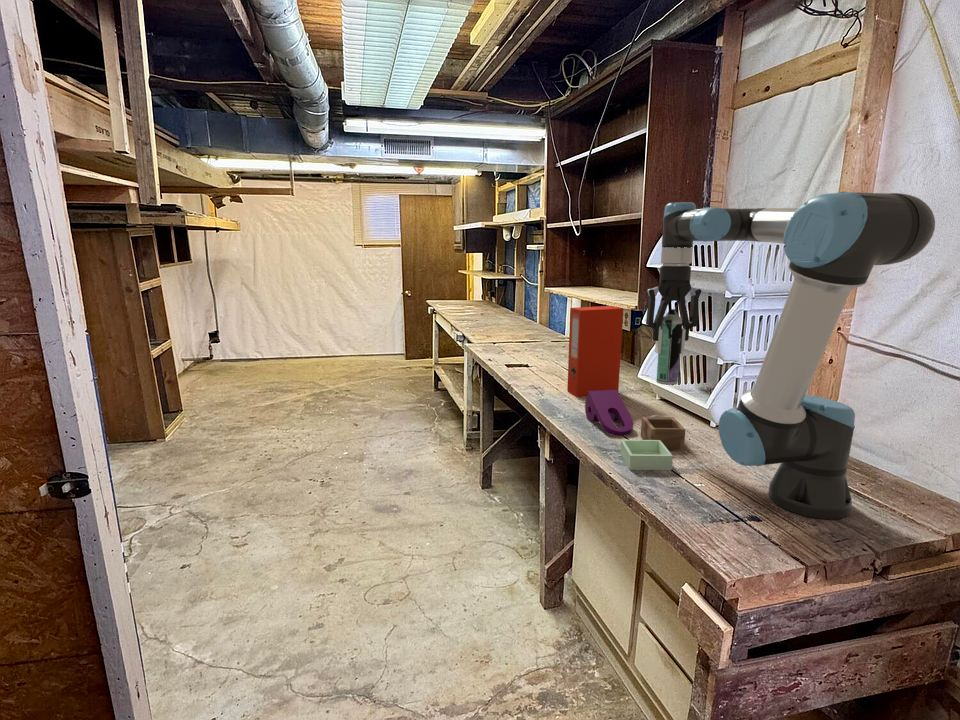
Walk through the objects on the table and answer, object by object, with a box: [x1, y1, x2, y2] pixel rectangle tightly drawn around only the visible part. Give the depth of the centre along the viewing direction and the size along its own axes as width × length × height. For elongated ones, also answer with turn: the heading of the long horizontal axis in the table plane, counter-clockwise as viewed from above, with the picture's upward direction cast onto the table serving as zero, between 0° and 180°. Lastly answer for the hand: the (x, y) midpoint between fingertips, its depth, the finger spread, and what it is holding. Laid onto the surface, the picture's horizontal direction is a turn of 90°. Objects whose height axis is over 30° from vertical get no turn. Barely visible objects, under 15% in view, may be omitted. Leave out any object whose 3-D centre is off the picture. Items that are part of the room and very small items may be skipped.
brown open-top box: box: [640, 414, 686, 451], centre depth 145 cm, size 12×9×6 cm
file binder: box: [566, 305, 624, 398], centre depth 190 cm, size 8×17×32 cm, turn 108°
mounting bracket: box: [584, 390, 635, 437], centre depth 159 cm, size 9×8×18 cm
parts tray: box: [619, 439, 674, 471], centre depth 132 cm, size 10×10×4 cm
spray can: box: [655, 308, 683, 386], centre depth 138 cm, size 6×6×20 cm
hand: (669, 352), depth 138 cm, fingers closed on spray can, 5 cm apart
